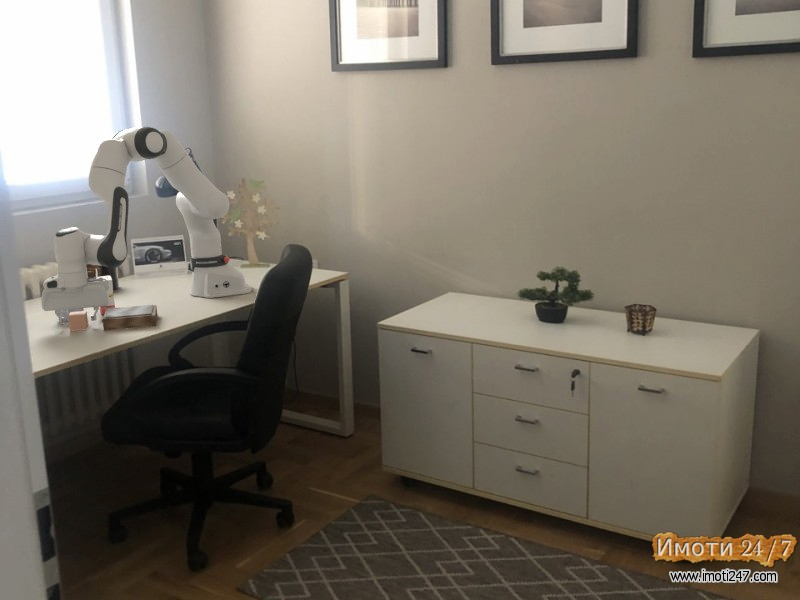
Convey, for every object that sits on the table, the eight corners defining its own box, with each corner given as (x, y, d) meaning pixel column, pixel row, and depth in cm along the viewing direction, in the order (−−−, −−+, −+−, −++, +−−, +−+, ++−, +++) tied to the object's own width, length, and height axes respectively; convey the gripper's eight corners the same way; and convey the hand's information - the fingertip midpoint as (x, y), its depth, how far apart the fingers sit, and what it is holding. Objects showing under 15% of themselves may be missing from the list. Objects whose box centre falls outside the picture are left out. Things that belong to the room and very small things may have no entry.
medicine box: (73, 315, 288) (70, 290, 286) (84, 315, 287) (81, 290, 285) (58, 321, 281) (55, 295, 278) (69, 321, 279) (66, 296, 277)
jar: (109, 293, 319) (104, 254, 315) (80, 292, 321) (75, 253, 317) (124, 286, 330) (119, 248, 327) (96, 285, 332) (92, 248, 329)
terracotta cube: (88, 325, 274) (86, 310, 273) (86, 329, 269) (84, 314, 268) (72, 327, 273) (70, 312, 272) (70, 331, 268) (68, 315, 267)
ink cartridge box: (116, 313, 289) (111, 271, 285) (101, 315, 287) (96, 272, 283) (114, 307, 296) (109, 266, 293) (99, 309, 295) (94, 268, 291)
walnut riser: (157, 315, 284) (156, 303, 283) (155, 326, 271) (154, 314, 270) (107, 319, 281) (106, 307, 280) (103, 330, 267) (102, 318, 266)
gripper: (108, 274, 273) (113, 316, 276) (41, 280, 268) (46, 321, 271) (106, 278, 267) (111, 321, 270) (37, 284, 262) (43, 327, 266)
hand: (78, 321), depth 271 cm, fingers open, 8 cm apart
